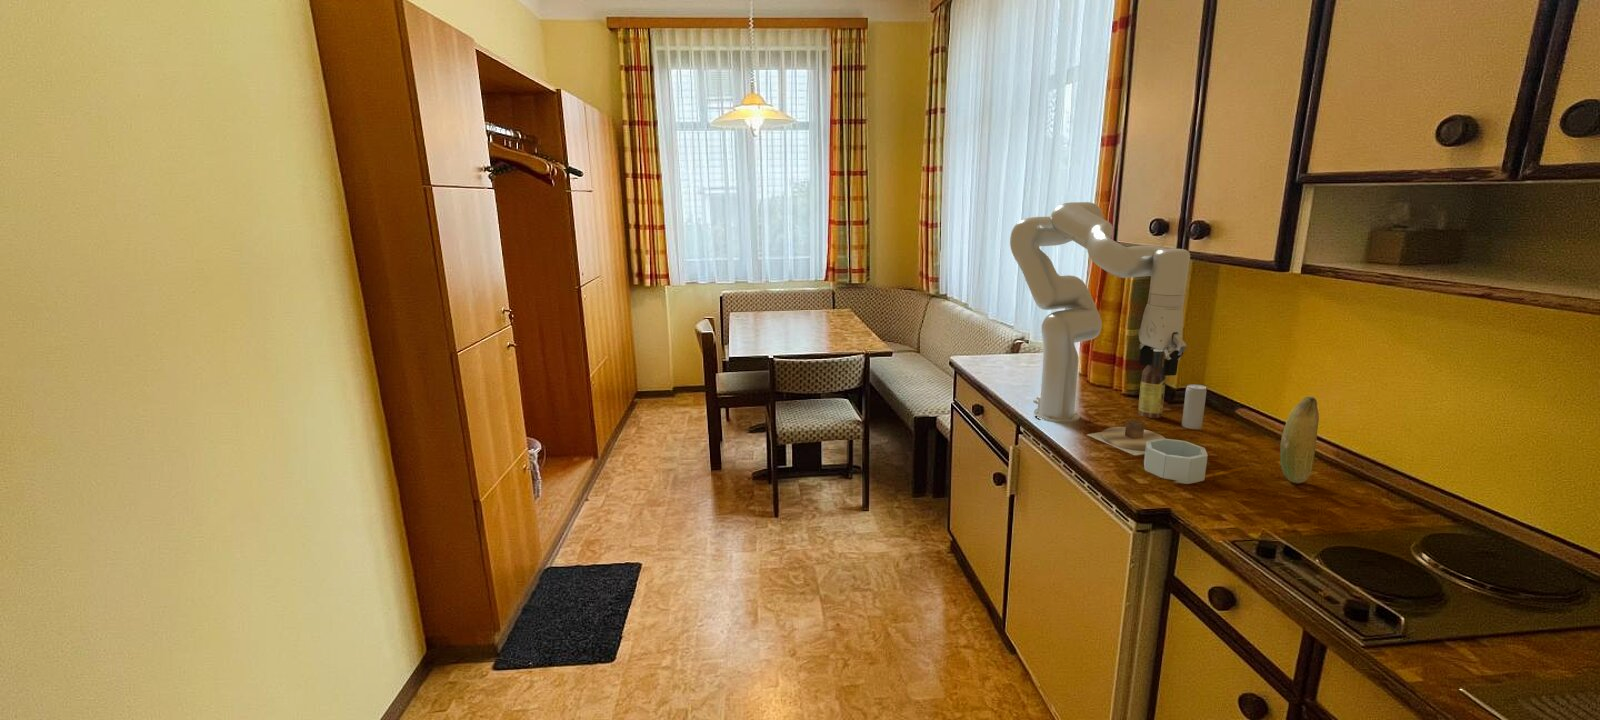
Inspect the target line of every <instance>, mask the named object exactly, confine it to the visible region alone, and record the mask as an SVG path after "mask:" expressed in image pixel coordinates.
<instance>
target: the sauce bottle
mask: <svg viewBox="0 0 1600 720" xmlns="http://www.w3.org/2000/svg"><path fill="white" fill-rule="evenodd" d="M1153 349H1154V351H1153V359H1152V364H1151V365H1146V367H1145V368H1144V369H1143V370H1142V373H1141V380H1140V386H1139V387H1140V388H1139V397H1138V398H1139V399H1138V401H1139V402H1138V408H1137V409H1138V415H1139V416H1141V417H1144V418H1149V419H1159V418H1162V413H1163V410H1164V401H1165V400H1164V399H1165V391H1166V381H1167V380H1166V376H1164V375H1163V374H1162V372H1163V361H1164V359H1163V358H1164V355H1165V352H1164V349H1163V350H1158V349H1155V348H1153Z"/></svg>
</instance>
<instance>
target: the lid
mask: <svg viewBox="0 0 1600 720" xmlns="http://www.w3.org/2000/svg"><path fill="white" fill-rule="evenodd" d="M1145 426H1146V425H1145V422H1142V421H1139V420H1137V419H1131V420H1126V422H1125V426H1114V427H1108V428H1106V429H1104V430H1103V431H1101V432H1102V438H1103V439H1104V440H1105V441H1106V442H1108V443H1110V444H1112V445H1114V446H1117V447H1121V448H1125V449H1130V450H1138V451H1145V448H1146V441H1149V440H1155V439H1160V438H1165V437H1164V436H1163V435H1161V434H1159V433H1157V432H1155V431H1151V430H1147V429H1145Z"/></svg>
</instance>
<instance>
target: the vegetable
mask: <svg viewBox="0 0 1600 720" xmlns="http://www.w3.org/2000/svg"><path fill="white" fill-rule="evenodd" d="M1287 417H1288V418H1287V420H1286V423H1285V425H1284V428H1283V431H1282V434H1281V438H1280V439H1281V440H1280V445H1279V446H1280V447H1279V448H1280V450H1279V451H1280V452H1279V457H1280V458H1279V459H1280V467H1281V470H1282V473H1283V475H1284V476H1285V478H1286V479H1287V480H1288V481H1289V482H1290V483H1294V484H1303V483H1304V482H1306V481H1307V480H1308V479H1309V478H1310V475H1311V474H1312V472H1313V468H1314V462H1315V453H1316V447H1317V438H1318V429H1319V428H1318V427H1319V421H1320V419H1319V418H1320V415H1319V409H1318V400H1317V399H1316V398H1315V397H1313V396H1306V397H1304V398H1303V399H1302V400H1301V401H1300V402H1299V403H1298V404H1296V405H1295V406H1294V407H1293V408H1292V409H1291V411H1290V413H1289V415H1288V416H1287Z"/></svg>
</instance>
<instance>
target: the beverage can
mask: <svg viewBox="0 0 1600 720" xmlns="http://www.w3.org/2000/svg"><path fill="white" fill-rule="evenodd" d="M1206 397H1207V386H1204V385H1201V384H1193V383H1192V384H1191V383H1190V384H1187V385H1186V388H1185V393H1184V403H1183V411H1182V419H1181V426H1182V427H1183V428H1185V429H1189V430H1201V429H1202V427H1203V419H1204V412H1205V405H1206Z"/></svg>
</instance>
